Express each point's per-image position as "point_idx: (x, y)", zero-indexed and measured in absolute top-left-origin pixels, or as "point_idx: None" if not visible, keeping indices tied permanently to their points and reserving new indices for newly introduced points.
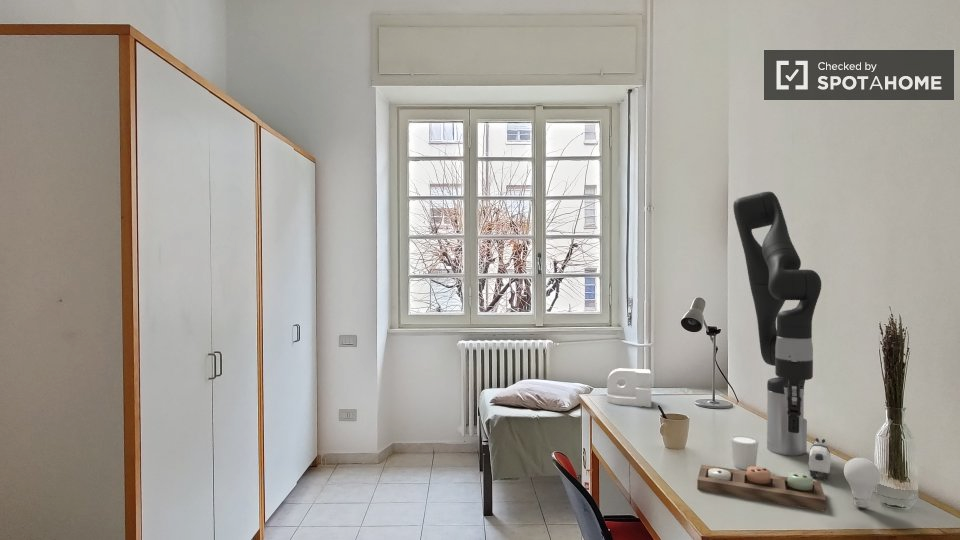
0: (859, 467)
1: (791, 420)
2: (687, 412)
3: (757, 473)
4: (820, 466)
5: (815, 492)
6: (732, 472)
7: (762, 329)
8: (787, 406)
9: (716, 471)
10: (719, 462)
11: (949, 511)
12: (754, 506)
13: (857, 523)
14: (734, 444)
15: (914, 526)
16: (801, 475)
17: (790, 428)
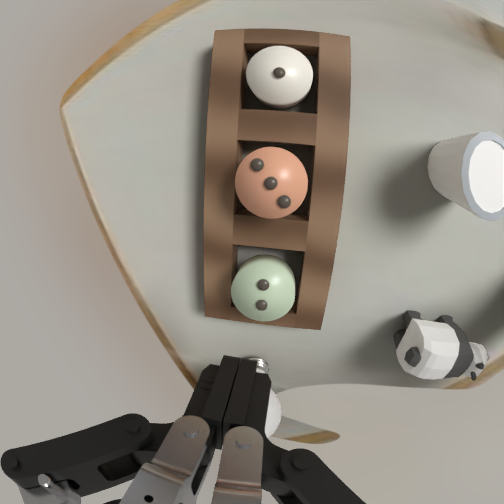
0: None
1: (189, 407)
2: None
3: (236, 177)
4: (404, 345)
5: None
6: (318, 111)
7: None
8: (151, 463)
9: (280, 65)
10: (453, 110)
11: (291, 439)
12: (173, 164)
13: (183, 337)
14: (468, 138)
15: None
16: (271, 299)
17: (202, 371)
